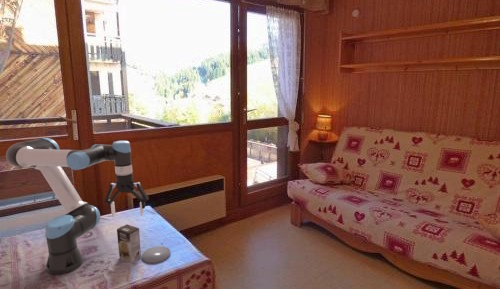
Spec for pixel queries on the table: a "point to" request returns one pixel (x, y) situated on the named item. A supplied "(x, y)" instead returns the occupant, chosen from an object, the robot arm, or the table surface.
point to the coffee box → (129, 243)
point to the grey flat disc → (155, 254)
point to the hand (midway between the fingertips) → (128, 214)
